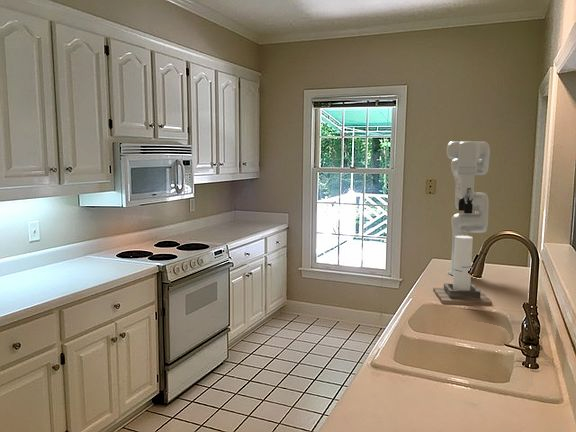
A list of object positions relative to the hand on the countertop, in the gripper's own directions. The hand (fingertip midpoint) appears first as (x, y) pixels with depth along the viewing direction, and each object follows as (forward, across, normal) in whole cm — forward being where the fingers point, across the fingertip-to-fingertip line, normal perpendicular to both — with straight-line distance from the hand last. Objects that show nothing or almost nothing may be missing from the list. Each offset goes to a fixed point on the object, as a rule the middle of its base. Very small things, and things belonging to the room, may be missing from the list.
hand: (465, 211), depth 210 cm
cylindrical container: (+36, 0, 0) cm, 36 cm away
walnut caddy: (+37, 0, 0) cm, 37 cm away
